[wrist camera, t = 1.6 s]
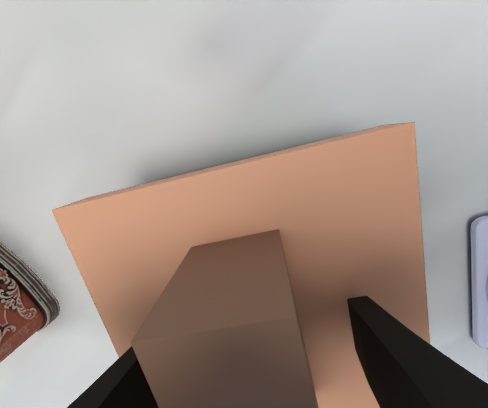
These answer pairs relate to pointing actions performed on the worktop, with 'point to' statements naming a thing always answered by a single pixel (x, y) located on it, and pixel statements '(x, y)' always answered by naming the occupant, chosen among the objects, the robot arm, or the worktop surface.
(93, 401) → the robot arm
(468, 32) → the worktop surface
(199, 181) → the lid
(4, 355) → the ornate red tin
